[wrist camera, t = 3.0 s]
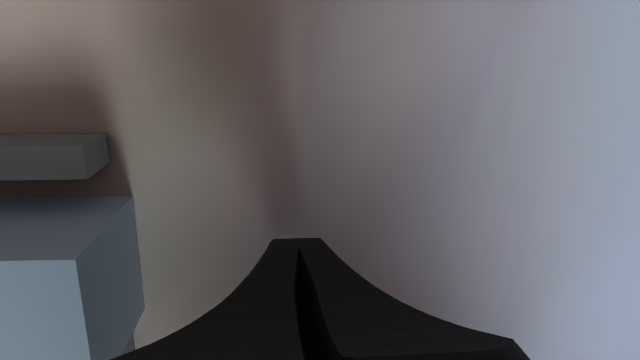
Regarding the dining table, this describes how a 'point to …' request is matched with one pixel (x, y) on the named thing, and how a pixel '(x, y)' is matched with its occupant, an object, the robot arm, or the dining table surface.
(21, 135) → the track
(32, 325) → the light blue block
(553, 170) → the dining table surface
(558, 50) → the dining table surface
